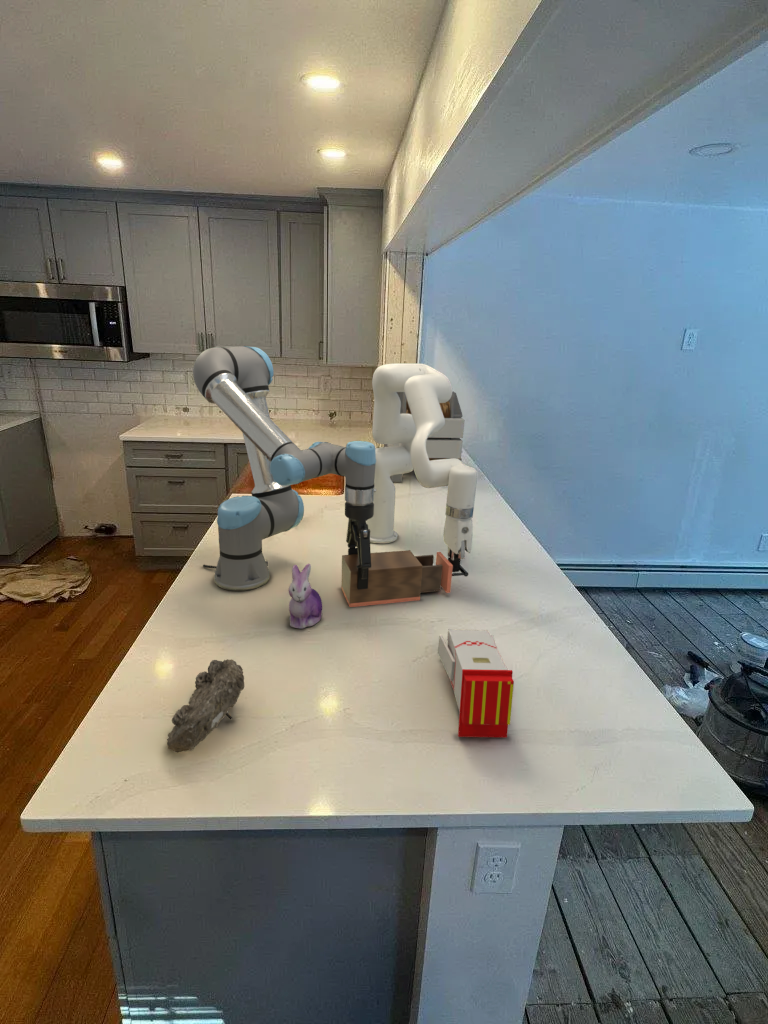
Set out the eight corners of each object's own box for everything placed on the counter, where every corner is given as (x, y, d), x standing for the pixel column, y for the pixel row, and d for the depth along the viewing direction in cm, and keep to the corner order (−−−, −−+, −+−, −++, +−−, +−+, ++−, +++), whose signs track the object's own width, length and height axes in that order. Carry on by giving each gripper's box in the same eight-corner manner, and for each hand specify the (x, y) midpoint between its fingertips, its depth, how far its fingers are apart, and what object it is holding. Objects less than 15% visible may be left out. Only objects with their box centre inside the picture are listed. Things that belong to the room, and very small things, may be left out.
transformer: (382, 463, 289) (386, 382, 275) (445, 464, 293) (451, 384, 279) (390, 482, 257) (394, 392, 243) (460, 483, 261) (468, 394, 247)
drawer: (456, 576, 168) (458, 550, 165) (469, 590, 159) (472, 563, 157) (377, 583, 161) (378, 556, 158) (386, 599, 153) (388, 570, 150)
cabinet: (407, 582, 165) (410, 549, 161) (420, 600, 155) (422, 565, 152) (341, 588, 159) (342, 555, 156) (349, 607, 150) (350, 571, 146)
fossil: (192, 660, 117) (244, 628, 112) (224, 691, 120) (276, 661, 115) (142, 746, 98) (202, 712, 93) (182, 779, 101) (242, 748, 96)
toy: (488, 613, 130) (523, 677, 101) (484, 667, 133) (517, 744, 104) (435, 612, 130) (455, 676, 101) (432, 666, 133) (451, 743, 103)
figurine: (294, 634, 136) (293, 577, 131) (280, 614, 145) (279, 560, 139) (330, 625, 140) (331, 571, 135) (315, 606, 149) (315, 554, 144)
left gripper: (386, 516, 137) (382, 597, 144) (362, 487, 157) (360, 560, 165) (355, 518, 135) (353, 600, 142) (336, 489, 155) (335, 562, 163)
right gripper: (483, 520, 150) (476, 581, 156) (461, 501, 163) (455, 558, 169) (457, 521, 148) (450, 584, 154) (436, 502, 161) (431, 560, 167)
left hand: (357, 578), depth 154 cm, fingers closed on cabinet, 11 cm apart
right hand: (453, 570), depth 162 cm, fingers closed
